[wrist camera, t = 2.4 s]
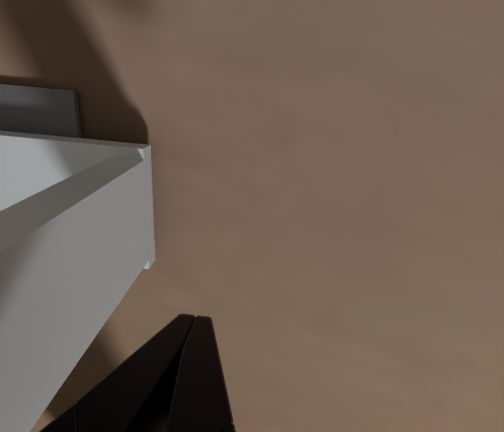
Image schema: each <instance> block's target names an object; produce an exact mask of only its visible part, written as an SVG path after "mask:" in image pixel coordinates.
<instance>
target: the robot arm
mask: <svg viewBox="0 0 504 432" xmlns="http://www.w3.org/2000/svg"><path fill="white" fill-rule="evenodd" d="M39 432H236V431H235V426H234V424H233V417H232V412H231V408H230V403H229V398H228V394H227V389H226V384H225V379H224V375H223V370H222V365H221V361H220V356H219V351H218V346H217V342H216V337H215V332H214V328H213V323H212V319H211V317H207V316H196V317H195V316H194V315H189V314H180V315H178V316H177V317H176V318H174V319H173V320H172V321H171V322H170V323H168V324H167V325H166V326H165V327H164V328H163V329H161V330H160V331H159V332H158V333H157V334H155V335H154V336H153V337H152V338H151V339H149V340H148V341H147V342H146V343H145V344H144V345H142V346H141V347H140V348H139V349H138V350H136V351H135V352H134V353H133V354H132V355H130V356H129V357H128V358H127V359H126V360H125V361H123V362H122V363H121V364H120V365H119V366H117V367H116V368H115V369H114V370H113V371H111V372H110V373H109V374H108V375H107V376H106V377H104V378H103V379H102V380H101V381H100V382H98V383H97V384H96V385H95V386H94V387H92V388H91V389H90V390H89V391H88V392H87V393H85V394H84V395H83V396H82V397H81V398H79V399H78V400H77V401H76V404H72V405H71V406H70V407H69V408H67V409H66V410H65V411H64V412H63V413H61V414H60V415H59V416H58V417H57V418H55V419H54V420H53V421H52V422H50V423H49V424H48V425H47V426H45V427H44V428H43V429H42V430H40V431H39Z"/></svg>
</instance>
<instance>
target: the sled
mask: <svg viewBox="0 0 504 432" xmlns="http://www.w3.org/2000/svg"><path fill="white" fill-rule="evenodd" d="M154 261H155V242H154V217H153V192H152V167H151V145H147V144H136V143H126V142H115V141H105V140H94V139H83V138H73V137H62V136H52V135H41V134H31V133H20V132H9V131H0V432H30V430H31V429H32V427H33V426H34V425H35V423H36V422H37V420H38V419H39V417H40V416H41V414H42V413H43V412H44V410H45V409H46V407H47V406H48V404H49V403H50V402H51V400H52V399H53V397H54V396H55V394H56V393H57V391H58V390H59V389H60V387H61V386H62V384H63V383H64V381H65V380H66V379H67V377H68V376H69V374H70V373H71V371H72V370H73V368H74V367H75V366H76V364H77V363H78V361H79V360H80V358H81V357H82V356H83V354H84V353H85V351H86V350H87V348H88V347H89V345H90V344H91V343H92V341H93V340H94V338H95V337H96V335H97V334H98V333H99V331H100V330H101V328H102V327H103V325H104V324H105V322H106V321H107V320H108V318H109V317H110V315H111V314H112V312H113V311H114V310H115V308H116V307H117V305H118V304H119V302H120V301H121V299H122V298H123V297H124V295H125V294H126V292H127V291H128V289H129V288H130V287H131V285H132V284H133V282H134V281H135V279H136V278H137V276H138V275H139V274H140V272H141V271H142V269H143V268H144V269H149V268H150V267H151V265H152V264H153V262H154Z"/></svg>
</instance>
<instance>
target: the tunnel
mask: <svg viewBox="0 0 504 432" xmlns="http://www.w3.org/2000/svg"><path fill="white" fill-rule="evenodd" d="M0 131H9V132H20V133H31V134H41V135H52V136H62V137H73V138H82V131H81V123H80V114H79V106H78V97H77V90H67V89H56V88H44V87H33V86H22V85H11V84H0Z"/></svg>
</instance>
